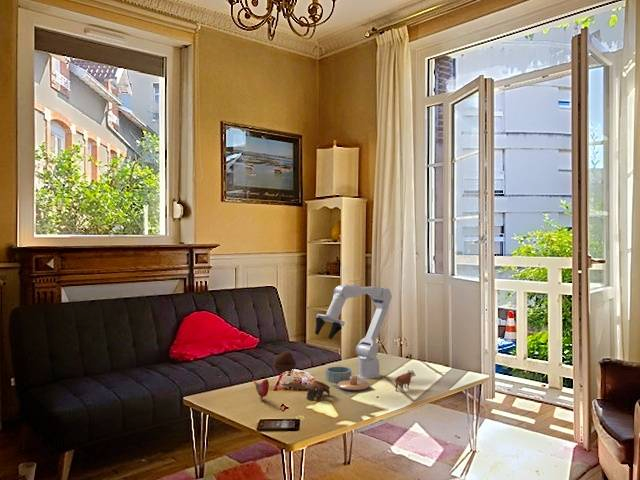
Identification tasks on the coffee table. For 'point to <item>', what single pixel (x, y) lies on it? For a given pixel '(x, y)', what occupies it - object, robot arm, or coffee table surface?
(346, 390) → the mat
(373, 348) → the robot arm
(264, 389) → the decorative bird figurine
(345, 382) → the lid
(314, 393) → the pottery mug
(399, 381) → the bull figurine
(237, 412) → the coffee table surface
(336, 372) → the bowl
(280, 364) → the dark brown rounded lump
